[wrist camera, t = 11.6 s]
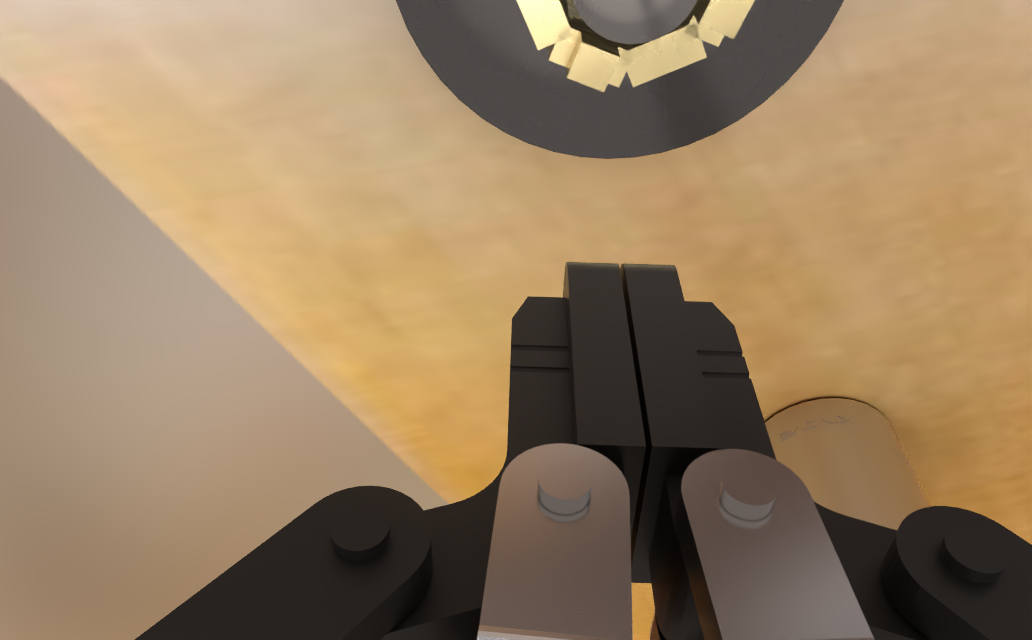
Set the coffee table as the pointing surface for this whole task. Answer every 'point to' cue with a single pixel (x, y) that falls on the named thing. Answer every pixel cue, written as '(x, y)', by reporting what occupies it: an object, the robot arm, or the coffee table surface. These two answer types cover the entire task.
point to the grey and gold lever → (608, 61)
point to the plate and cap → (618, 110)
